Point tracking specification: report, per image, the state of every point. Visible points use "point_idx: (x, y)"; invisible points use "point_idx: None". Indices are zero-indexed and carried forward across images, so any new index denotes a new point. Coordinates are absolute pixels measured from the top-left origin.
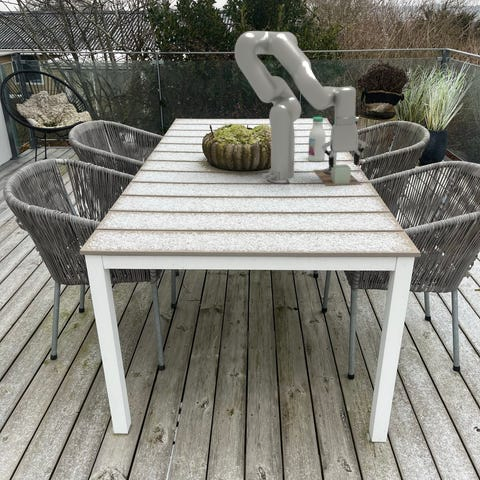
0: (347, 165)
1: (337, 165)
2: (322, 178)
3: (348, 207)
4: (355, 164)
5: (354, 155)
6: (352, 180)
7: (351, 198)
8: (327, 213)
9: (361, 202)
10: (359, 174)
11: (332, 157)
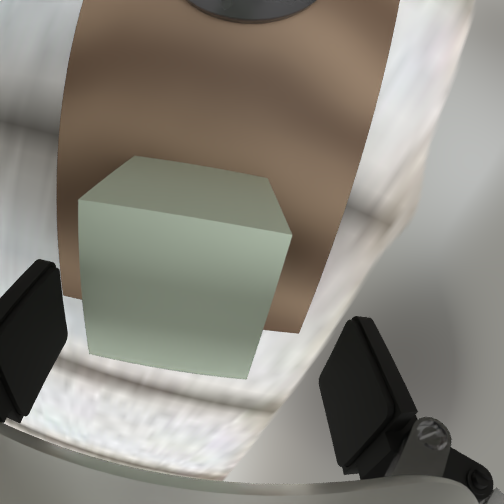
0: (270, 289)
1: (143, 248)
2: (80, 107)
3: (129, 446)
4: (326, 368)
5: (376, 412)
6: (295, 239)
7: (167, 407)
8: (65, 445)
9: (189, 437)
10: (460, 45)
11: (11, 418)
